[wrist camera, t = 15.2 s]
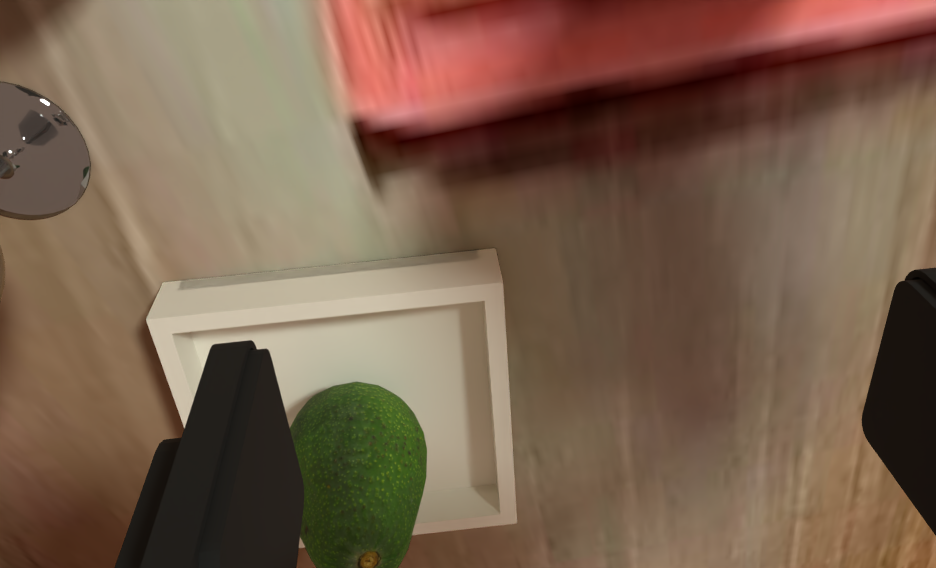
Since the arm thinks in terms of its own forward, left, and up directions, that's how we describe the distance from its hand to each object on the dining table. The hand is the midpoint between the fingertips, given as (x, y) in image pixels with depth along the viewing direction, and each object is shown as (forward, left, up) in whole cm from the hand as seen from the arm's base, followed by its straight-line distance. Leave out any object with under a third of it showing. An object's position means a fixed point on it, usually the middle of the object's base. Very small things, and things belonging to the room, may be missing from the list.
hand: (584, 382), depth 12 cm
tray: (+8, +23, -28) cm, 37 cm away
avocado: (+8, +23, -28) cm, 37 cm away
